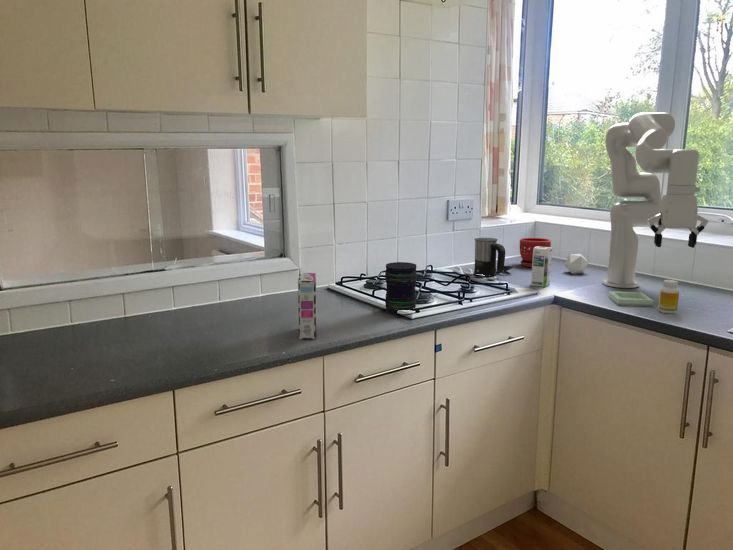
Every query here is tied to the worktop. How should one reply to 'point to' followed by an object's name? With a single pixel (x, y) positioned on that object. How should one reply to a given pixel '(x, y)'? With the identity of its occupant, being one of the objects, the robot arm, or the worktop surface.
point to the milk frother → (489, 257)
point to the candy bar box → (307, 306)
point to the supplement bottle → (668, 297)
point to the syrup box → (541, 266)
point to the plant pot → (531, 248)
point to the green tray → (630, 298)
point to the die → (576, 263)
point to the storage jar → (400, 286)
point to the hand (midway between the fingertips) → (674, 246)
